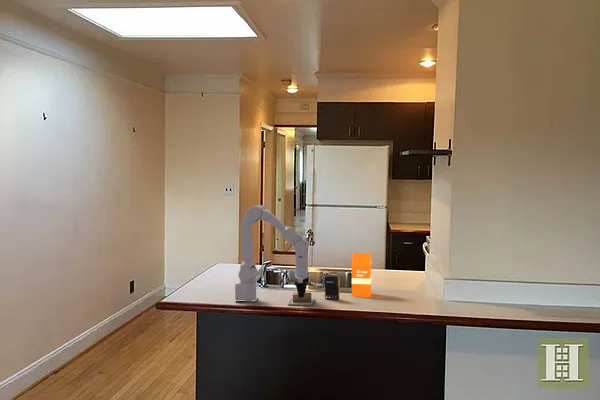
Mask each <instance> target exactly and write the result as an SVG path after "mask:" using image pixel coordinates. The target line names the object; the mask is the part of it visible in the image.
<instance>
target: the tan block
mask: <svg viewBox="0 0 600 400" xmlns="http://www.w3.org/2000/svg"><path fill="white" fill-rule="evenodd" d="M292 299H293V302H297V303H311V299H312V292H305V293H304V297H303V298H299V296H298V292H297V291H296V292H294V291H293V293H292Z"/></svg>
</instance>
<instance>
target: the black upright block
mask: <svg viewBox="0 0 600 400" xmlns="http://www.w3.org/2000/svg"><path fill="white" fill-rule="evenodd" d="M340 284H341V283H340V276H339V275H337V274H330V273H329V274H326V275H324V277H323V286H324V291H325V292H324V299H325V300H327V301H328V300H329V301H338V300H340V289H341V287H340Z"/></svg>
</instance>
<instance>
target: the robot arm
mask: <svg viewBox="0 0 600 400" xmlns="http://www.w3.org/2000/svg"><path fill="white" fill-rule="evenodd" d="M259 220H260V221H263V222H267V223H269V224H271V225H272V226H273V227H274V228H275V229H276V230H278V231H279V232H280V233H281V237H282V238H283V239H284V240H285V241H286V242H288V243H289V244H290V245H291V246H293V250H294V251H295V255H294V258H295V259H294V260H295V262H294V264H295V267H294V270H295V272H294V273H295V275H294V277H295V279H296V281H294V285H295V287H296V289H297V290H296V292H298V296H299V298H303V297H304V293H307V292H306V290H307V285H308V283H309V279H310V278H311V276H312V275H311V274H309V254H308V252H309V251H308V249H309V246H310V243H309V241H308V239H307V237H303V235H300V233H298V232H297V231H296V229H295V228H294V227H291V226H286V225H285V224H284V223H282V221H281V220H280V219H278V218H277V217H276V216H275V215H274V213H272V212H271V211H270V210H269V209H268V208H266V207H265V206H264V205H263V204H258V205H251V206H250V207H249V208H247V209H246V210H245V214H244V216H242V219H241V220H240V233H241V235H240V237H241V238H240V239H241V241H240V242H241V263H240V266H239V267H240V268H239V272H238V278H239V280H237V281H236V282H235V286H234V291H235V292H234V295H235V296H234V298H235V299H234V300H245V301H252V300H256V297H257V279H256V277H257V275H258V268H257V267H256V262H255V260H254V237H253V236H254V234H253V227H254V225H255V224H256V223H257V222H258V221H259ZM238 297H239V298H238Z"/></svg>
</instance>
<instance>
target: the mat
mask: <svg viewBox="0 0 600 400" xmlns="http://www.w3.org/2000/svg"><path fill="white" fill-rule="evenodd" d="M315 302H316V299H315V298H311V303H297V302H293V298H290V300H289V302H288V305H302V306H301V307H314V305H315Z"/></svg>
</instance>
